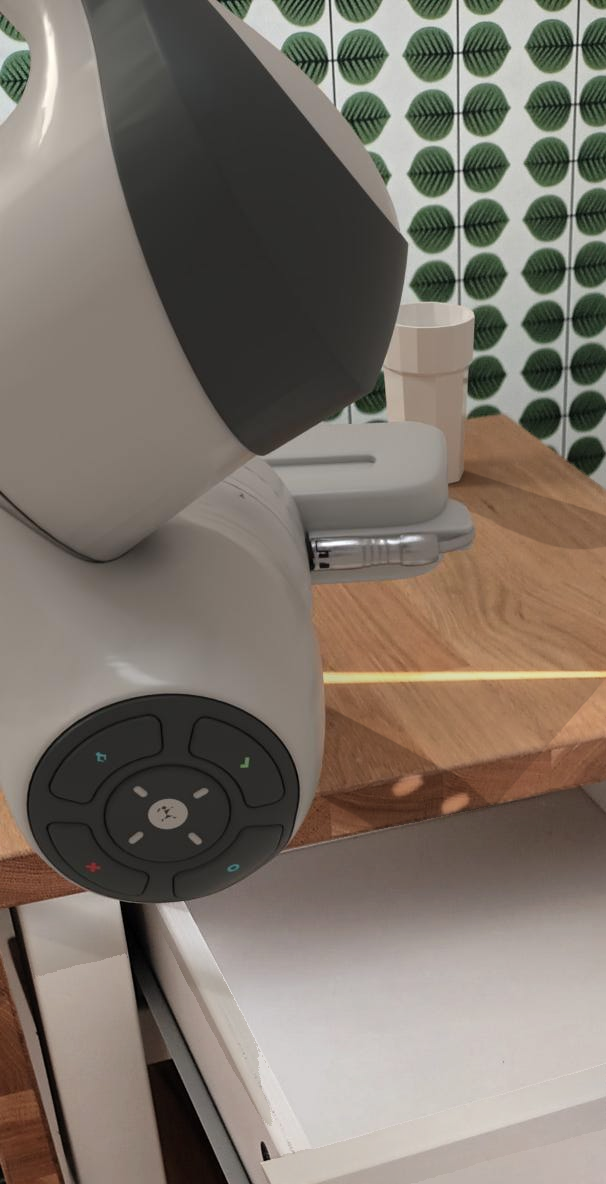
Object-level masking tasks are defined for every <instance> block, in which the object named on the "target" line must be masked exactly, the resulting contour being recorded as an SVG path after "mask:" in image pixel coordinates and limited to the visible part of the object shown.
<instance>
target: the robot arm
mask: <svg viewBox="0 0 606 1184" xmlns="http://www.w3.org/2000/svg"><path fill="white" fill-rule="evenodd" d="M0 13H1V14H2V15H3V17H4V18H5V19H6V20H7V21H8V22H9V23H10V24H11V25H12V26H13V27H14V28H15V30H16V31H17V32H18V33H19V34H20V35H21V36H22V37H23V39H24V40H25V41H26V44H27V46H28V50H29V53H30V54H29V55H30V65H29V66H30V67H29V74H28V79H27V82H26V84H25V87H24V90H23V93H22V96H21V98H20V99H19V101H18V103H17V104H16V106H15V108H14V109H13V110H12V111H11V113H10V114H9V115H8V117H7V118H6V119H4V121H3V122H2V123H1V124H0V789H1V791H2V794H3V797H4V799H5V802H6V805H7V807H8V809H9V812H10V814H11V816H12V818H13V820H14V822H15V825H16V826H17V829H18V830H19V831H20V834H21V835H22V837H23V838H24V839H25V841H26V843H28V845H29V846H30V848H31V849H32V850H33V851H34V853H36V855H37V856H38V857H39V858H40V859H41V860H42V861H44V862H45V863H46V864H47V866H49V868H51V869H52V870H53V871H54V872H55V873H57V874H58V875H59V876H60V877H62V878H63V879H65V880H66V881H67V882H69V883H70V884H72V885H74V886H77V887H78V888H80V889H82V890H84V891H87V892H89V893H92V894H94V895H97V896H100V897H103V898H107V899H111V900H113V901H121V902H126V903H135V904H169V903H170V904H171V903H181V902H186V901H192V900H197V899H201V898H205V897H209V896H212V895H214V894H217V893H220V892H222V891H224V890H226V889H228V888H231V887H232V886H234V885H236V884H238V883H239V882H242V881H244V880H245V879H247V878H249V877H251V876H252V875H254V874H255V873H257V872H259V871H260V870H261V869H263V868H264V867H265V866H267V865H268V864H269V863H270V862H272V861H273V860H274V859H275V858H276V857H277V856H279V854H280V853H282V852H283V851H284V850H285V848H286V847H287V846H288V845H289V844H290V843H291V841H292V840H293V838H294V837H295V836H296V834H297V833H298V831H299V829H300V828H301V827H302V825H303V823H304V821H305V819H306V818H307V815H308V813H309V811H310V808H311V806H312V805H313V804H312V803H313V801H314V798H315V796H316V793H317V789H318V787H319V783H320V778H321V775H322V768H323V761H324V754H325V741H326V740H325V738H326V737H325V736H326V695H325V694H326V693H325V682H324V670H323V659H322V651H321V646H320V641H319V637H318V633H317V629H316V626H315V624H314V610H315V609H314V607H315V605H314V601H315V600H314V592H313V586H317V585H335V584H351V583H370V582H387V581H398V580H399V581H400V580H407V579H411V578H416V577H420V576H423V575H426V574H428V573H430V572H432V571H434V570H435V569H436V568H437V567H438V566H439V565H440V564H441V563H442V562H443V559H444V557H445V554H447V553H451V552H457V551H467V550H469V549H470V548H471V547H472V546H473V543H474V539H475V537H476V532H477V531H476V527H475V524H474V522H473V519H472V516H471V514H470V511H469V509H468V507H467V506H466V505H465V504H463V503H462V502H460V501H459V500H456V499H454V498H450V497H449V484H448V462H447V446H446V441H445V437H444V434H443V432H442V431H441V430H440V429H438V428H435V427H433V426H430V425H427V424H424V423H420V422H414V421H401V422H388V421H387V422H365V423H364V422H363V423H361V422H360V423H339V424H332V423H329V422H326V420H327V419H329V418H331V417H332V416H334V415H335V414H337V413H339V412H342V410H344V409H345V408H347V407H349V406H350V405H352V404H354V403H355V402H357V401H359V400H360V399H362V398H364V397H365V396H367V395H369V394H371V393H372V392H373V391H374V389H375V386H376V384H377V381H378V379H379V377H380V375H381V371H382V369H383V363H384V360H385V358H386V355H387V351H388V348H389V345H390V342H391V339H392V335H393V331H394V328H395V324H396V320H397V316H398V311H399V307H400V304H402V298H403V297H402V296H403V291H404V286H405V279H406V272H407V265H408V255H409V244H410V243H409V242H408V241H407V239H406V238H405V237H404V235H403V234H402V232H401V228H400V223H399V219H398V215H397V211H396V209H395V206H394V203H393V200H392V198H391V194H390V193H389V189H388V188H387V185H386V183H385V181H384V179H383V177H382V175H381V173H380V171H379V169H378V167H377V165H376V163H375V161H374V160H373V158H372V156H371V155H370V153H369V151H368V150H367V148H366V147H365V145H364V144H363V141H362V140H361V139H360V138H359V136H358V135H357V132H356V131H355V130H354V129H353V128H352V126H351V125H350V123H349V122H348V120H347V119H346V118H345V117H344V115H343V114H342V112H340V110H339V109H338V108H337V106H336V105H335V104H334V103H333V102H332V101H331V99H330V98H329V97H328V96H327V94H326V93H324V91H323V90H322V88H320V87H319V86H318V85H317V84H316V83H315V82H314V81H313V80H312V79H311V78H310V77H309V76H308V74H306V73H305V72H304V70H302V69H301V67H299V66H298V65H297V64H296V63H295V62H294V61H292V60H291V59H290V58H289V57H288V56H287V55H286V54H284V53H283V52H282V51H281V50H280V49H279V48H278V47H277V46H275V45H274V44H273V43H272V42H270V40H268V39H266V38H265V37H264V36H263V35H262V34H260V33H259V32H258V31H257V30H255V28H253V27H252V26H250V24H248V23H247V22H245V21H244V20H243V19H241V18H240V17H239V16H238V15H236V14H235V13H234V12H232V11H231V10H230V9H229V8H227V7H226V6H225V5H223V4H222V3H221V2H219V1H218V0H0Z"/></svg>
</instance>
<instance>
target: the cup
mask: <svg viewBox="0 0 606 1184" xmlns="http://www.w3.org/2000/svg"><path fill="white" fill-rule="evenodd" d="M475 319H476V316H475V313H474V311H473V310H471V309H470V308H468V307H467V306H464V305H459V304H455V303H449V302H440V301H414V302H405V303H404V302H403V303H402V302H401V303H400V307H399V311H398V316H397V320H396V324H395V328H394V331H393V335H392V339H391V342H390V345H389V348H388V351H387V355H386V358H385V360H384V363H383V366H382V369H383V377H384V389H385V402H386V413H387V415H386V416H387V422H401V421H414V422H420V423H424V424H427V425H430V426H433V427H435V428H438V429H440V430H441V431H442V432H443V434H444V437H445V441H446V446H447V462H448V485H449V484H453V483H457V482H460V481H461V478H462V476H463V474H464V472H465V441H466V422H467V405H468V389H469V388H468V387H469V385H468V384H469V366H470V365H471V364H472V363H473V360H474V341H475V340H474V339H475V321H476V320H475Z"/></svg>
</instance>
